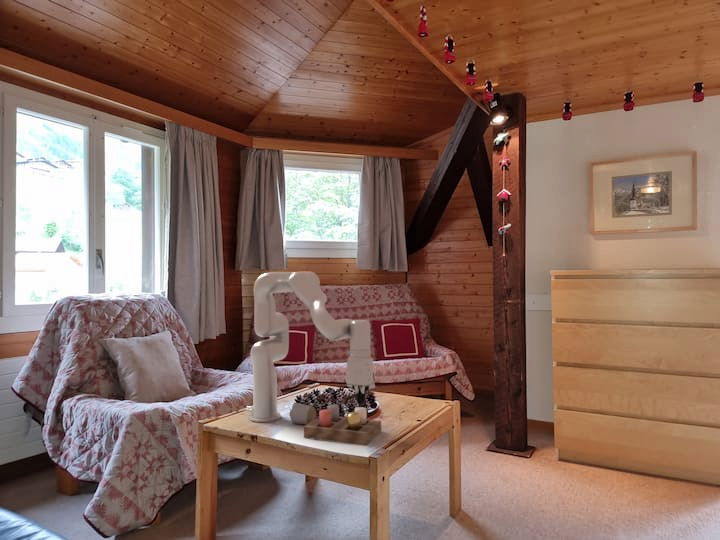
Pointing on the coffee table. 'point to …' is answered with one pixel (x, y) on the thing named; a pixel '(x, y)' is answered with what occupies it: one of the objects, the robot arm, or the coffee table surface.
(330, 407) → the gray block
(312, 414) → the ceramic mug
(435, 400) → the coffee table surface
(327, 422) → the pink cylinder
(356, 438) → the box
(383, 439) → the coffee table surface
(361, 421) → the cream white block
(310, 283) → the robot arm
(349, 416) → the gold round piece
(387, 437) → the coffee table surface
